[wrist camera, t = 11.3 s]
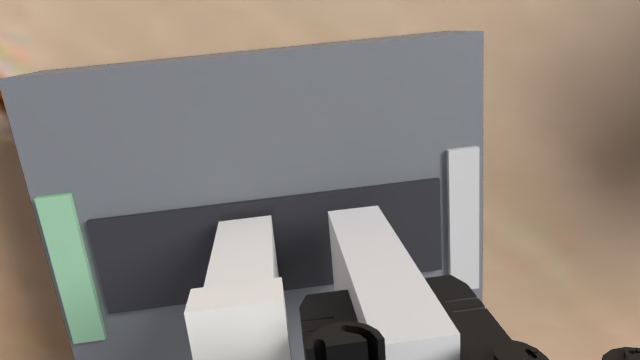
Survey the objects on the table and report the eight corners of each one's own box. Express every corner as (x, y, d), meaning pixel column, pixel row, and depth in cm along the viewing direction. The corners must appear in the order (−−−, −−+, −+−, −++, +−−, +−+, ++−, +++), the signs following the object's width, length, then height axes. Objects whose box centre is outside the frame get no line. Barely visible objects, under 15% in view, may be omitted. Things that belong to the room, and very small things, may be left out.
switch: (286, 289, 16) (297, 412, 11) (224, 297, 16) (205, 426, 11) (276, 208, 16) (283, 300, 10) (210, 216, 15) (183, 313, 10)
